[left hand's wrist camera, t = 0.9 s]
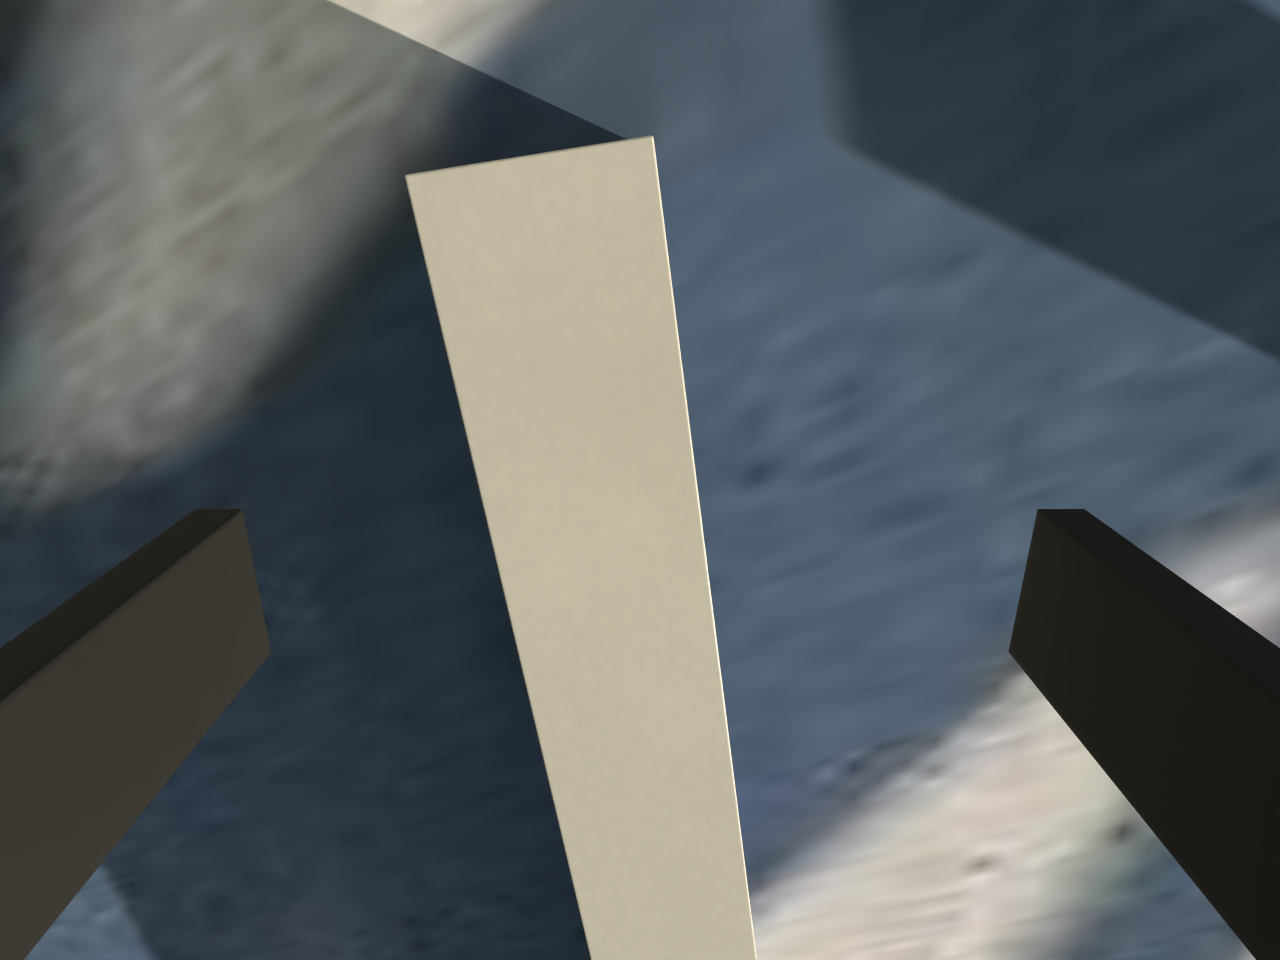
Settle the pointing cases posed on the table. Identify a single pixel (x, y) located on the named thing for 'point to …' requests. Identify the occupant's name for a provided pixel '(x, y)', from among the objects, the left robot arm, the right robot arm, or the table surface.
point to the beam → (596, 528)
